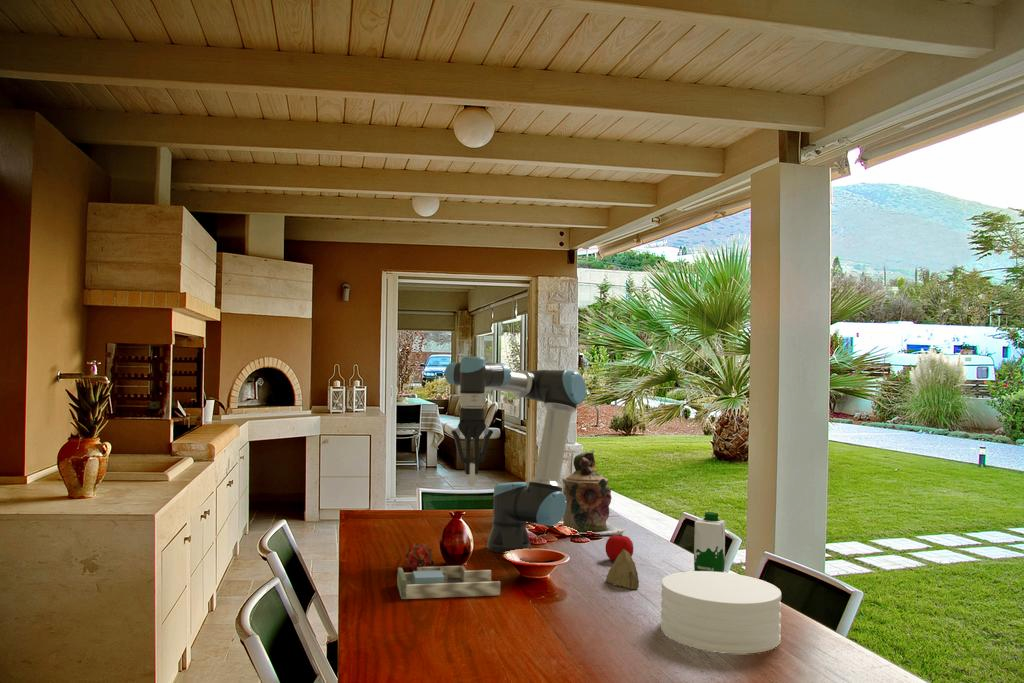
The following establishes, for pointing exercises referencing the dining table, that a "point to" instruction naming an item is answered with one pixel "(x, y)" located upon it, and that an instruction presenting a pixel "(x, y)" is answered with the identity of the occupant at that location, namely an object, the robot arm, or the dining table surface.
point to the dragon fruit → (419, 556)
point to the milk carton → (709, 543)
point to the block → (428, 577)
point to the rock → (623, 571)
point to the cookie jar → (587, 498)
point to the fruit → (618, 546)
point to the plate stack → (721, 611)
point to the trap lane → (448, 583)
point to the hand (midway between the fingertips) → (471, 484)
